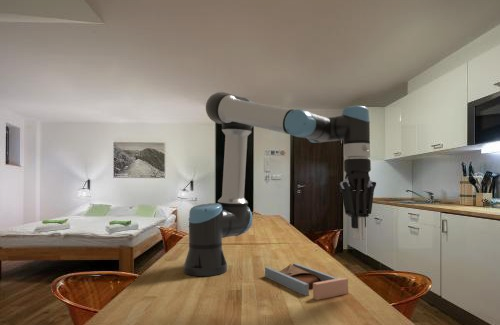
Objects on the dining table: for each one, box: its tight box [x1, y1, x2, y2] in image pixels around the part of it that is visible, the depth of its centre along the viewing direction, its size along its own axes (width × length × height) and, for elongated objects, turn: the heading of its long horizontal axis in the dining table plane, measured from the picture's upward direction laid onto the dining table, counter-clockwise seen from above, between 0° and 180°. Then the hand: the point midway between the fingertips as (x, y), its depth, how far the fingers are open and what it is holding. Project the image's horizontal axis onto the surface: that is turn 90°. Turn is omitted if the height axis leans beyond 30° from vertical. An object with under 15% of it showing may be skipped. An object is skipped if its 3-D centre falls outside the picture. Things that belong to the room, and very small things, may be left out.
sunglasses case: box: [279, 263, 321, 290], centre depth 106 cm, size 18×7×7 cm
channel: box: [264, 262, 339, 297], centre depth 105 cm, size 12×22×3 cm, turn 28°
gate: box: [312, 277, 349, 301], centre depth 92 cm, size 11×2×4 cm, turn 118°
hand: (359, 239), depth 98 cm, fingers closed
